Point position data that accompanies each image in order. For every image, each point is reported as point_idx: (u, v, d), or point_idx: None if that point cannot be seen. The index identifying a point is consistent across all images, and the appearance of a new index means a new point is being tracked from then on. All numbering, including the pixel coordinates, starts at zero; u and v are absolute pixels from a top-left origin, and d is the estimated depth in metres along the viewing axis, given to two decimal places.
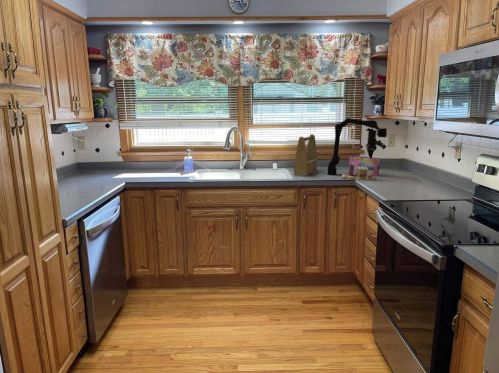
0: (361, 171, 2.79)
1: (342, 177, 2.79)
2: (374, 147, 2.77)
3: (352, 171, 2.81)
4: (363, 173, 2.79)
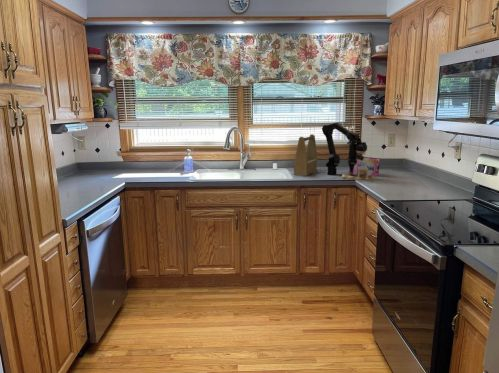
0: (361, 171, 2.79)
1: (342, 177, 2.79)
2: (354, 161, 2.71)
3: None
4: (363, 173, 2.79)
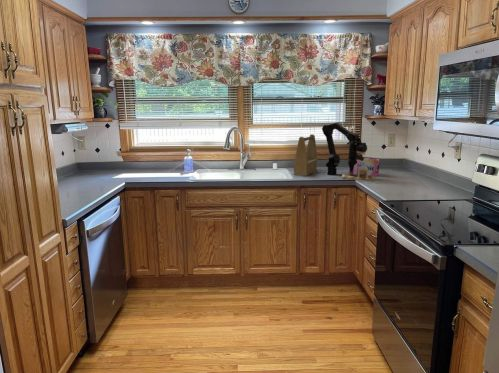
0: (361, 171, 2.79)
1: (342, 177, 2.79)
2: (354, 161, 2.71)
3: (352, 171, 2.81)
4: (363, 173, 2.79)
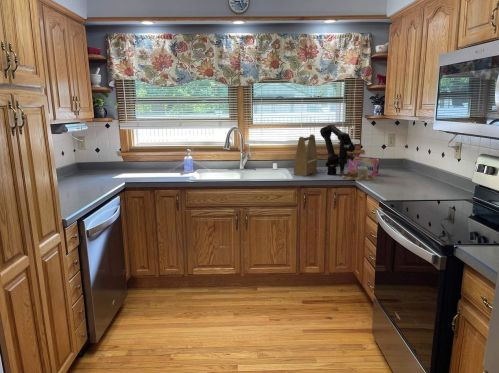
0: (351, 171, 2.80)
1: (342, 177, 2.79)
2: (345, 161, 2.73)
3: (343, 171, 2.82)
4: (353, 173, 2.80)
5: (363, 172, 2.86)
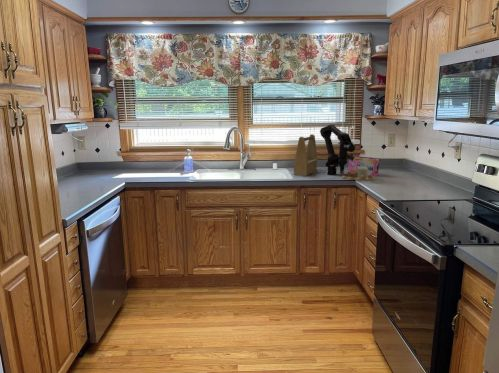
0: (351, 171, 2.80)
1: (342, 177, 2.79)
2: (345, 161, 2.73)
3: None
4: (353, 173, 2.80)
5: (363, 172, 2.86)
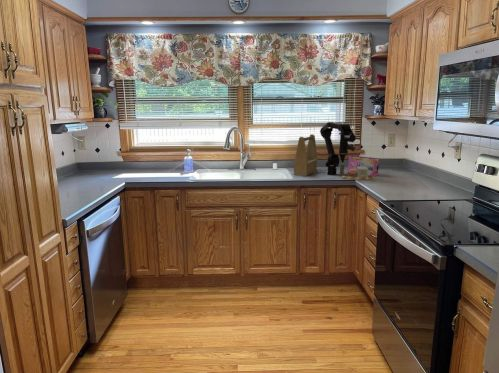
0: (351, 171, 2.80)
1: (342, 177, 2.79)
2: (345, 151, 2.71)
3: (342, 171, 2.82)
4: (353, 173, 2.80)
5: (363, 172, 2.86)
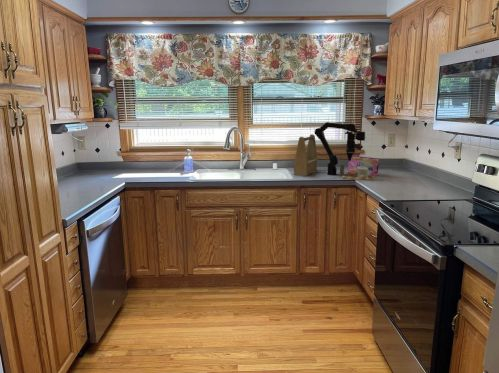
0: (351, 171, 2.80)
1: (342, 177, 2.79)
2: (352, 150, 2.79)
3: (342, 171, 2.82)
4: (353, 173, 2.80)
5: (363, 172, 2.86)
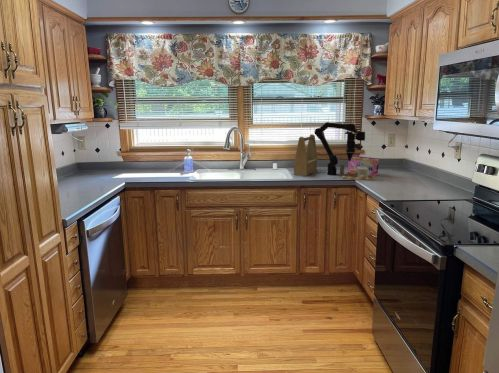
0: (351, 171, 2.80)
1: (342, 177, 2.79)
2: (352, 150, 2.79)
3: (342, 171, 2.82)
4: (353, 173, 2.80)
5: (363, 172, 2.86)
